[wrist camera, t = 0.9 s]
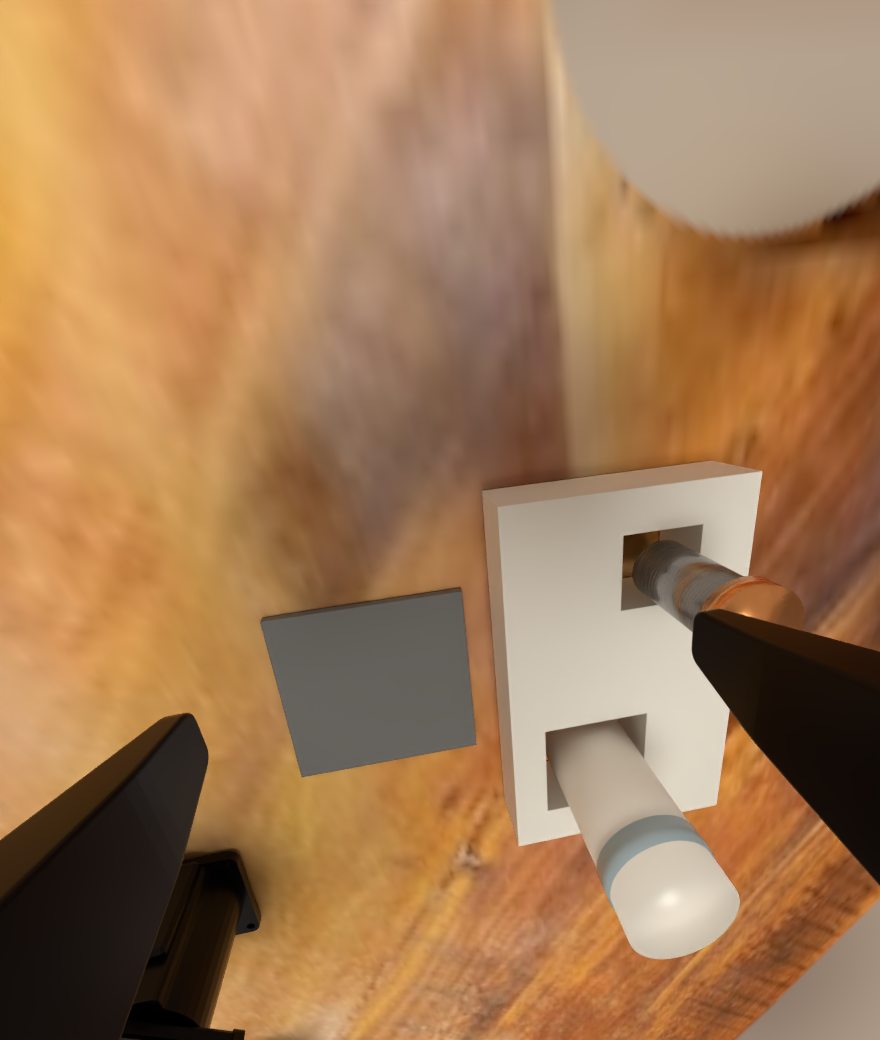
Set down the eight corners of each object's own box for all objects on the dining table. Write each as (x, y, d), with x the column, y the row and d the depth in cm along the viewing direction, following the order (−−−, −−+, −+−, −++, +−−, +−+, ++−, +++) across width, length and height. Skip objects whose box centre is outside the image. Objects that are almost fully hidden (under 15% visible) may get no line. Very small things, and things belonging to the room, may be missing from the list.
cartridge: (607, 744, 26) (733, 944, 17) (536, 757, 26) (623, 971, 16) (609, 682, 25) (748, 864, 15) (533, 696, 24) (628, 891, 15)
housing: (682, 761, 27) (716, 804, 25) (504, 797, 26) (518, 846, 24) (711, 460, 21) (762, 471, 18) (481, 490, 20) (497, 507, 17)
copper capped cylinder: (692, 595, 20) (795, 664, 15) (624, 606, 20) (707, 680, 15) (698, 528, 19) (812, 578, 14) (627, 539, 19) (717, 594, 14)
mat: (474, 739, 25) (476, 744, 24) (303, 770, 24) (301, 777, 23) (460, 587, 22) (461, 591, 21) (262, 617, 21) (260, 622, 20)
